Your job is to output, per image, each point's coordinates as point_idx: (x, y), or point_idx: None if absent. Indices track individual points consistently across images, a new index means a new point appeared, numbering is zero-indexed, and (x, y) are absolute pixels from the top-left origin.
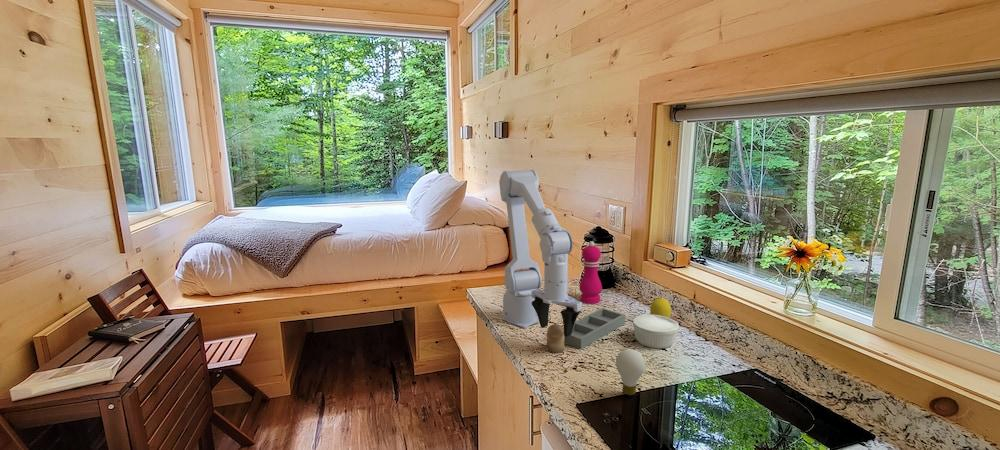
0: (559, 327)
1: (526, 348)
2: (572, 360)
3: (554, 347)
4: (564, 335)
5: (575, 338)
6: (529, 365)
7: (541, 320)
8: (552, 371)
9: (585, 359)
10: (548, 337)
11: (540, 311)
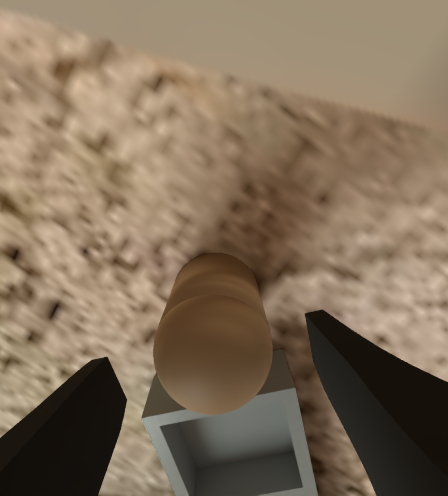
0: (176, 393)
1: (309, 174)
2: (83, 290)
3: (179, 277)
4: (102, 359)
5: (177, 404)
6: (134, 67)
7: (330, 346)
8: (23, 143)
9: (68, 338)
10: (214, 285)
11: (388, 426)
